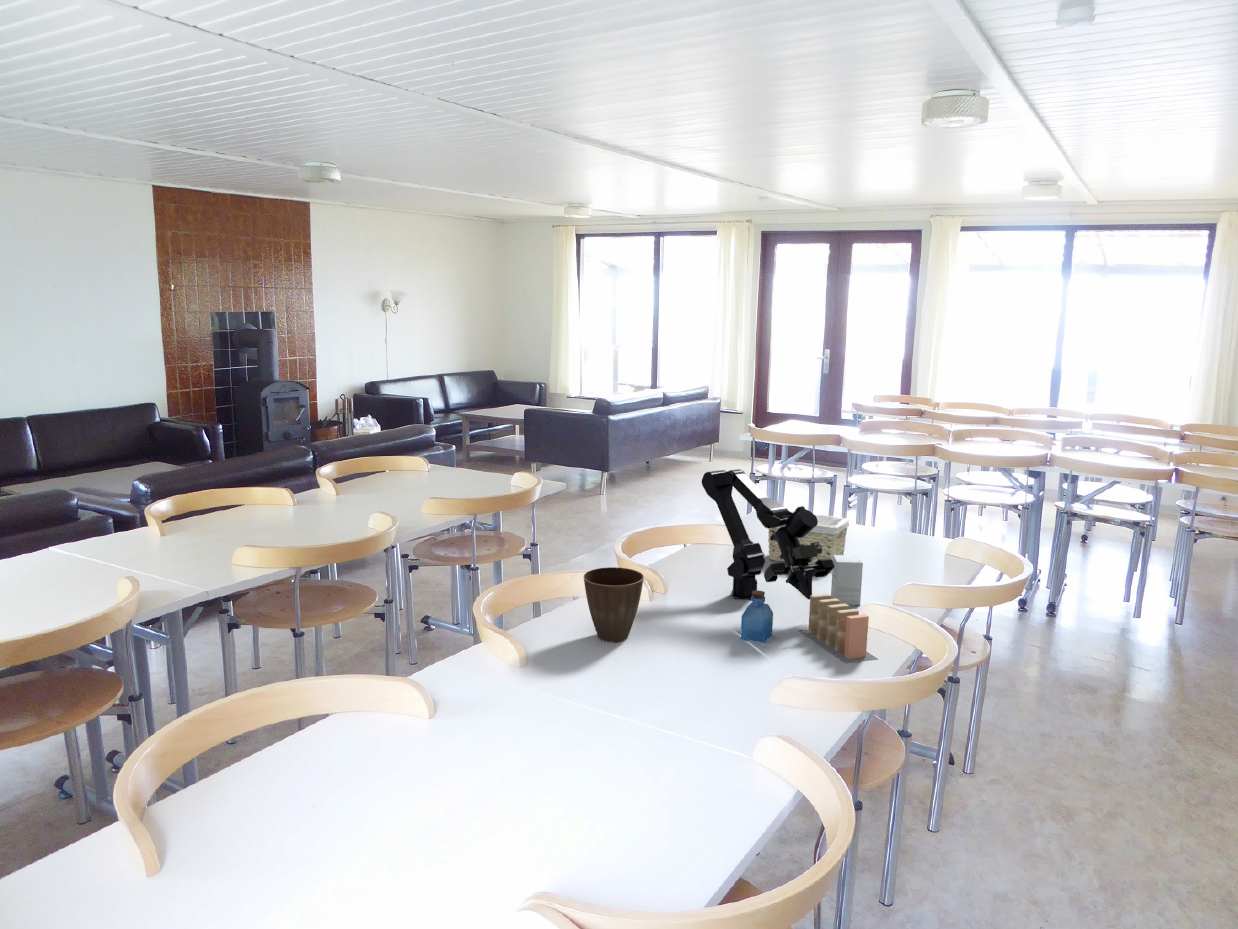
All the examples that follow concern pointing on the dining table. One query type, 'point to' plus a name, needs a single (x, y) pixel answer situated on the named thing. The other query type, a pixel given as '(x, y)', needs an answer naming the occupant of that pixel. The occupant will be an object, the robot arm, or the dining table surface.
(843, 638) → the domino
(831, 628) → the domino
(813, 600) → the domino
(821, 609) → the domino
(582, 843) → the dining table surface
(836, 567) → the supplement box
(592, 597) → the plant pot
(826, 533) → the storage basket
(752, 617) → the perfume bottle
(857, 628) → the domino
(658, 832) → the dining table surface
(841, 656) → the mat
